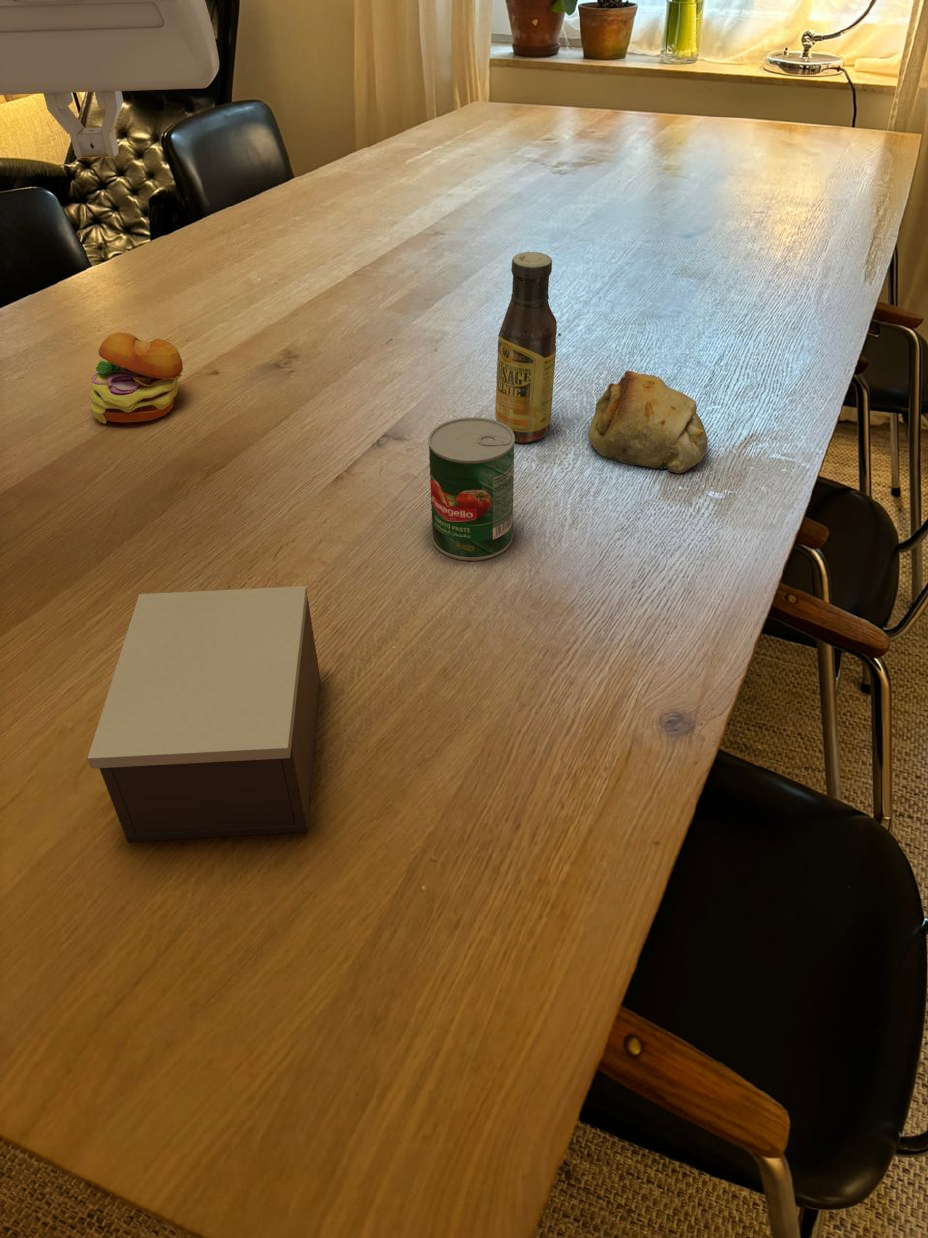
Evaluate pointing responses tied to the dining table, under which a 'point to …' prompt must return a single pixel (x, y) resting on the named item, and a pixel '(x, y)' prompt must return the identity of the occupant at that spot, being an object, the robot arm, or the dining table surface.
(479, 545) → the canned tomato
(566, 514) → the dining table surface
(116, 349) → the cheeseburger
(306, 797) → the open box
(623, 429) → the pastry
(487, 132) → the dining table surface
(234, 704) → the box lid
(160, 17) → the robot arm
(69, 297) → the dining table surface
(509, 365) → the sauce bottle
